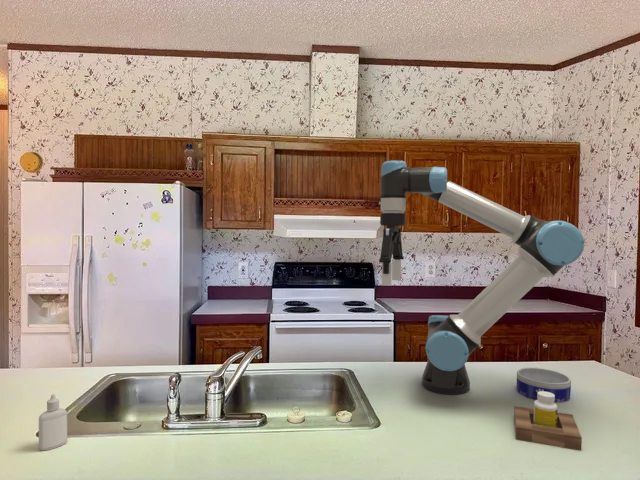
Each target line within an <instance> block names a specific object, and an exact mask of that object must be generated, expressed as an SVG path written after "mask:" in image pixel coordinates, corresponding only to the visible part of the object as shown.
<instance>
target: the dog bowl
mask: <svg viewBox="0 0 640 480" xmlns="http://www.w3.org/2000/svg"><path fill="white" fill-rule="evenodd" d="M571 389H572V379H571V377H569V375H567V374H565V373H563V372H560V371H557V370H554V369H549V368H542V367H530V366H529V367H522V368H519V369H518V370H516V391H517V392H518V393H519V394H520V395H521V396H523V397H525V398H528V399H531V400H534V401H536V400H538V398H537V393H538V392H539V391H546V392H550V393H553V394H554V395H555V401H554V403H555V404H556V403H557V404H558V403H564V402H567V401H569V400H570V399H571V391H572V390H571Z"/></svg>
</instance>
